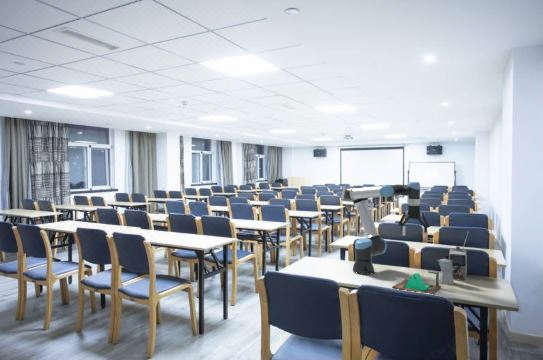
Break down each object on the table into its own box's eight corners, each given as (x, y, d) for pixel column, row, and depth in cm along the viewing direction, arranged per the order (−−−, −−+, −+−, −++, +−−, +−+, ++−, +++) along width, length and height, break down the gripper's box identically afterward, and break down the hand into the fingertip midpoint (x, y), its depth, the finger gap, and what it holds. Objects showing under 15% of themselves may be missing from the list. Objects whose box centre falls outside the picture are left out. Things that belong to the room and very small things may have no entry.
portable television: (448, 280, 243) (448, 235, 242) (449, 271, 264) (449, 230, 263) (468, 282, 237) (469, 236, 237) (468, 273, 258) (468, 231, 258)
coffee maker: (433, 282, 239) (433, 254, 238) (439, 279, 245) (439, 252, 245) (458, 287, 228) (458, 258, 228) (462, 284, 234) (463, 256, 234)
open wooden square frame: (392, 288, 226) (392, 272, 226) (405, 280, 242) (405, 265, 241) (428, 296, 211) (428, 279, 211) (440, 287, 227) (440, 271, 227)
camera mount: (429, 289, 224) (429, 273, 224) (425, 292, 218) (425, 275, 218) (409, 285, 232) (409, 269, 231) (405, 288, 226) (405, 272, 225)
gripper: (393, 204, 250) (393, 235, 250) (431, 206, 233) (431, 239, 234) (398, 203, 256) (398, 233, 256) (435, 205, 239) (435, 238, 239)
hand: (413, 236), depth 245 cm, fingers open, 13 cm apart
